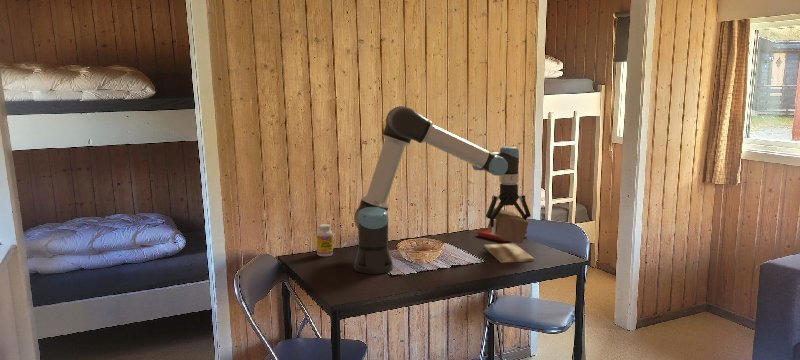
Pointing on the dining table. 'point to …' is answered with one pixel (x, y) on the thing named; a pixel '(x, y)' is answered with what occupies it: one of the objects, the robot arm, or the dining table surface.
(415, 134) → the robot arm
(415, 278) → the dining table surface
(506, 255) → the board
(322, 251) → the supplement bottle
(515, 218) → the block
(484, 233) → the plant saucer
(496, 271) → the dining table surface
